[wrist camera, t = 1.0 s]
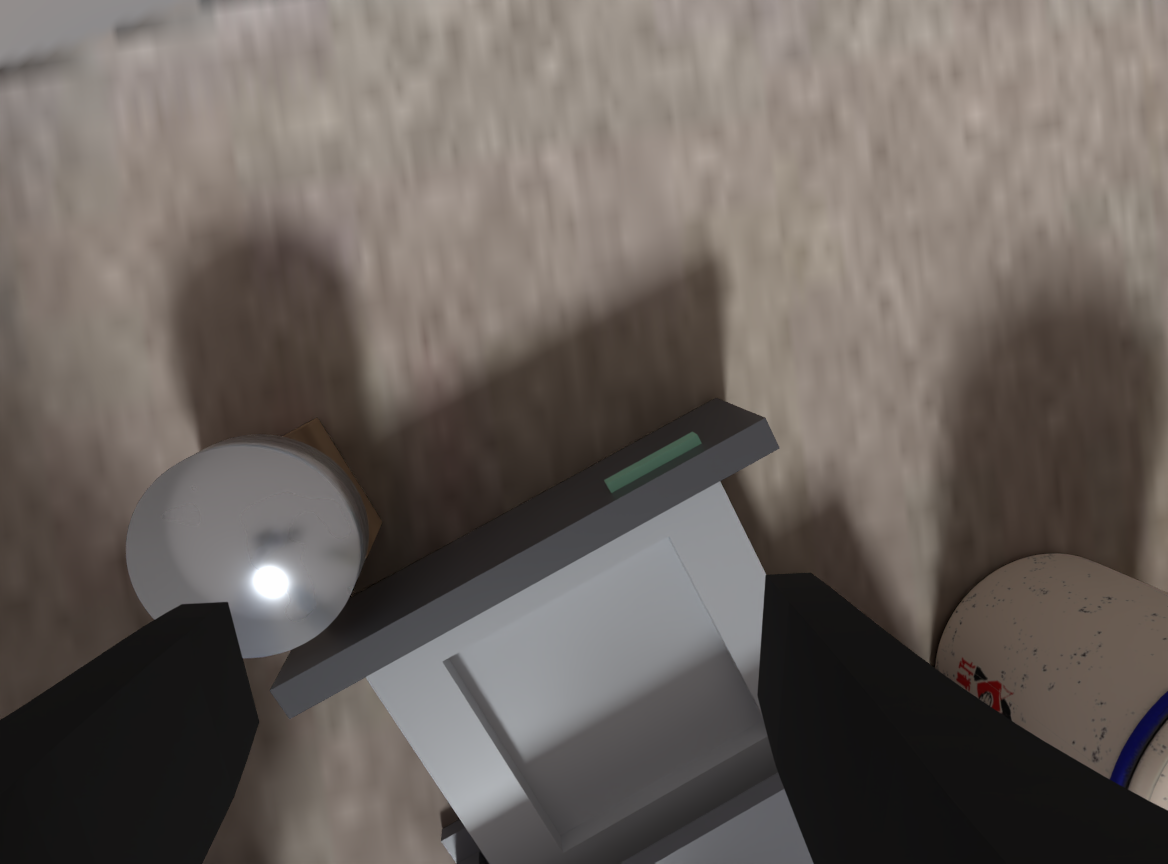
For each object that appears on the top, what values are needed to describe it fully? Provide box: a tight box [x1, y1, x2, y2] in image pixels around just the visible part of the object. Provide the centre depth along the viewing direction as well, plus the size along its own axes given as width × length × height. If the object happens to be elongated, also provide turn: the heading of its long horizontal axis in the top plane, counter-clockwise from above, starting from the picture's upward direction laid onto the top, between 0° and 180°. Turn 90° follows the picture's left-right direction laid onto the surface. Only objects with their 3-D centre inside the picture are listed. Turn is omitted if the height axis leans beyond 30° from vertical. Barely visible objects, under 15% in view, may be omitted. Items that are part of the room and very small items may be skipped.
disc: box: [126, 434, 369, 658], centre depth 20 cm, size 6×6×2 cm
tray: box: [270, 398, 779, 864], centre depth 24 cm, size 16×12×4 cm
